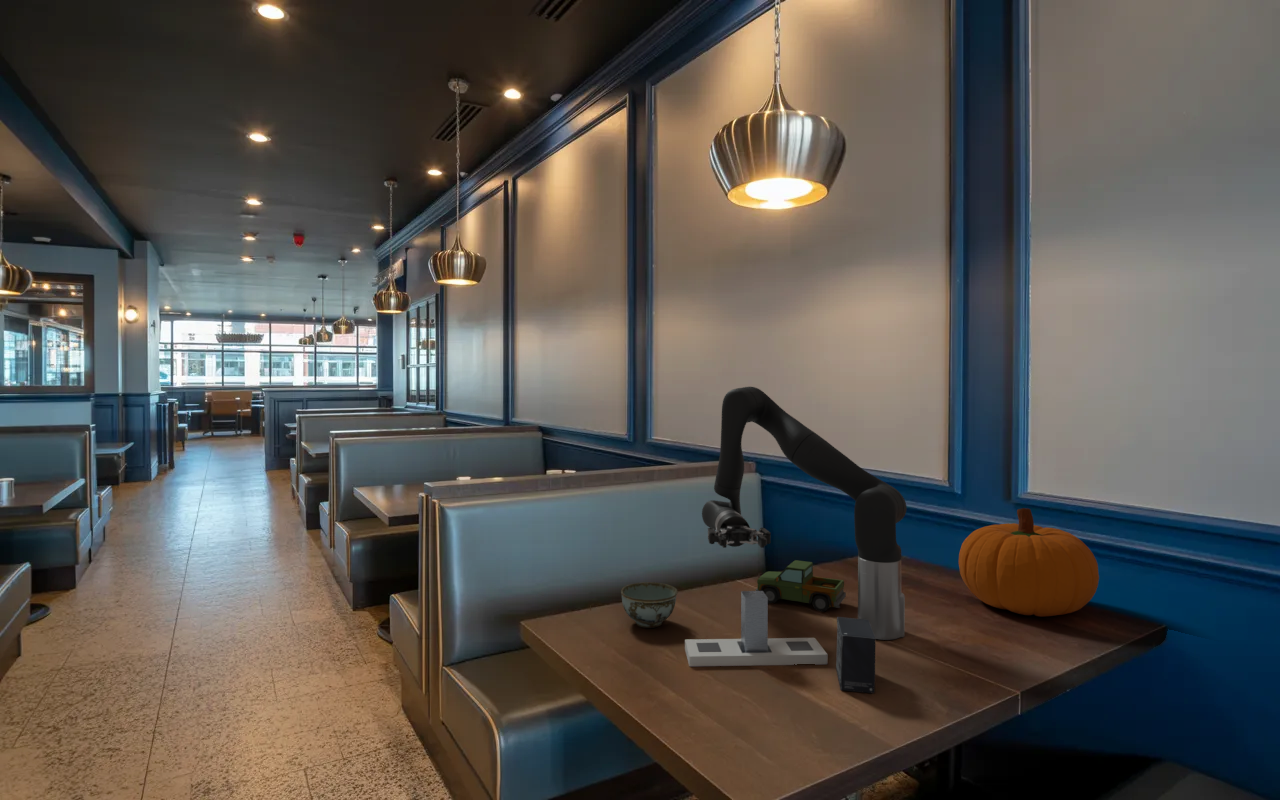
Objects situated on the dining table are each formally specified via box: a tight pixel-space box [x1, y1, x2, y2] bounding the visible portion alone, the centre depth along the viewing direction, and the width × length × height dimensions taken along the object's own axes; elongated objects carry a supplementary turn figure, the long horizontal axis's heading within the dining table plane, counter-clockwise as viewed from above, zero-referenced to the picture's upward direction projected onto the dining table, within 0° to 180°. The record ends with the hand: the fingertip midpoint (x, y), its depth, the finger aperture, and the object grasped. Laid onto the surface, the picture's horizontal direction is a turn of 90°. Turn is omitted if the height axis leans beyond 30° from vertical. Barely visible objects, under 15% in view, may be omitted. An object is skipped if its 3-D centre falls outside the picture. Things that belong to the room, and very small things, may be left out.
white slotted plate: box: [684, 637, 829, 667], centre depth 140 cm, size 28×9×2 cm, turn 92°
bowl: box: [620, 581, 679, 629], centre depth 159 cm, size 14×13×8 cm
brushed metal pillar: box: [740, 590, 769, 653], centre depth 140 cm, size 5×5×13 cm
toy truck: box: [755, 559, 847, 613], centre depth 174 cm, size 11×21×10 cm, turn 61°
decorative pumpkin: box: [958, 507, 1100, 618], centre depth 171 cm, size 31×30×25 cm
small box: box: [835, 616, 877, 694], centre depth 128 cm, size 11×6×10 cm, turn 168°
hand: (744, 543), depth 150 cm, fingers open, 8 cm apart
